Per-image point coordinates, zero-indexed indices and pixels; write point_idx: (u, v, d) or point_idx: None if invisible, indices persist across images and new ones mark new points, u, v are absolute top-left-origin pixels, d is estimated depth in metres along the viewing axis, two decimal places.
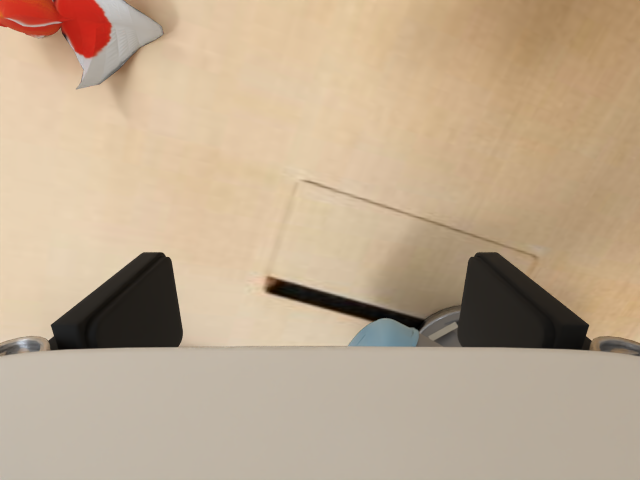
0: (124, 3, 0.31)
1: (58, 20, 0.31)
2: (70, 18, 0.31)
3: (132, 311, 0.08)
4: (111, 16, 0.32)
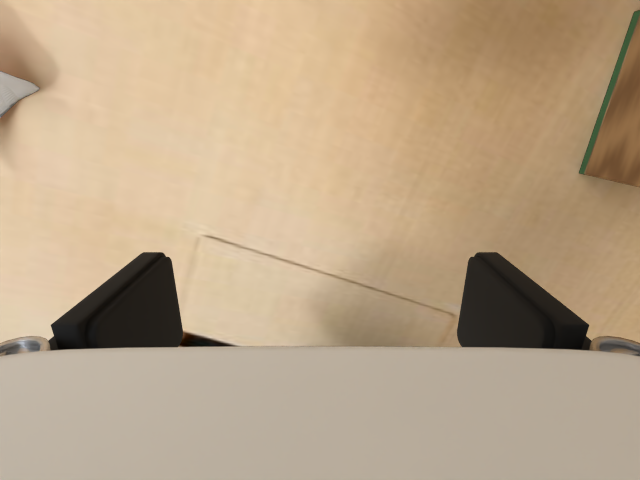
0: None
1: None
2: None
3: (132, 311, 0.08)
4: None
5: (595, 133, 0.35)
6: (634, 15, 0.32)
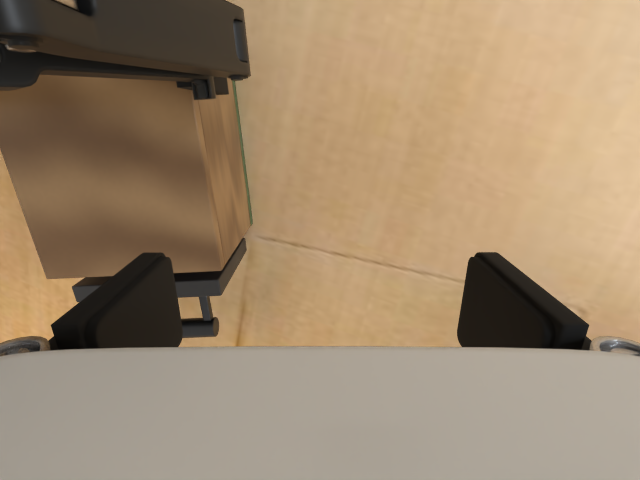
0: None
1: None
2: None
3: (132, 311, 0.08)
4: None
5: (234, 92, 0.27)
6: None
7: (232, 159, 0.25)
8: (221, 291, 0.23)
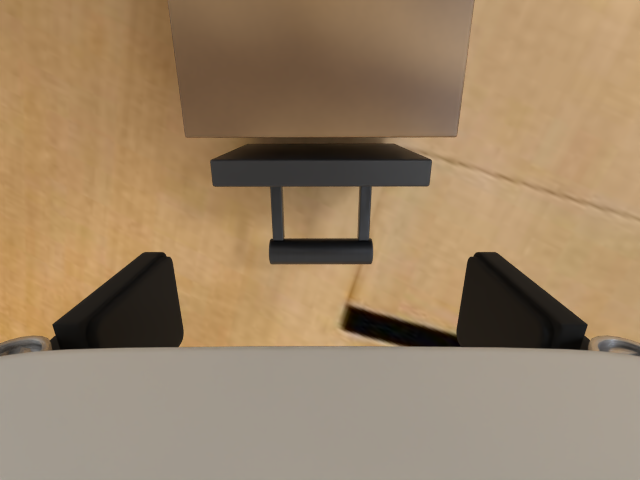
0: None
1: None
2: None
3: (133, 311, 0.08)
4: None
5: None
6: None
7: None
8: (428, 180, 0.16)
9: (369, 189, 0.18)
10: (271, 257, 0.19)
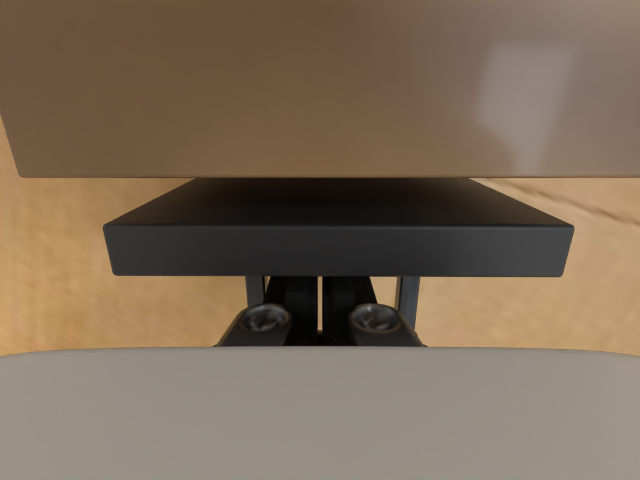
0: None
1: None
2: None
3: None
4: None
5: None
6: None
7: None
8: None
9: None
10: None
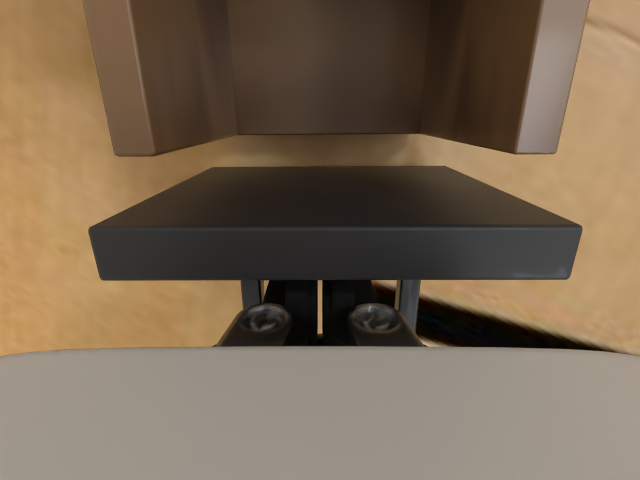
0: None
1: None
2: None
3: None
4: None
5: None
6: None
7: None
8: None
9: None
10: None
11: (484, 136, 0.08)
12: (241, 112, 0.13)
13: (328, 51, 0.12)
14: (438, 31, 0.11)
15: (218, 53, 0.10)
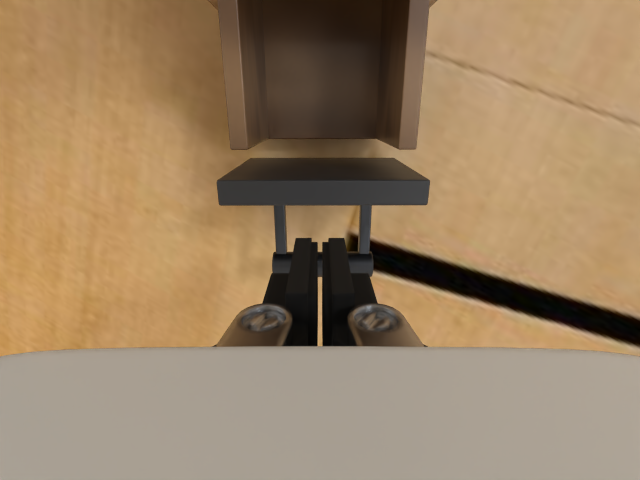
0: None
1: None
2: None
3: None
4: None
5: None
6: None
7: None
8: (427, 199, 0.16)
9: (369, 205, 0.19)
10: (274, 270, 0.20)
11: (392, 141, 0.17)
12: (271, 125, 0.22)
13: (322, 91, 0.21)
14: (381, 83, 0.20)
15: (262, 95, 0.19)
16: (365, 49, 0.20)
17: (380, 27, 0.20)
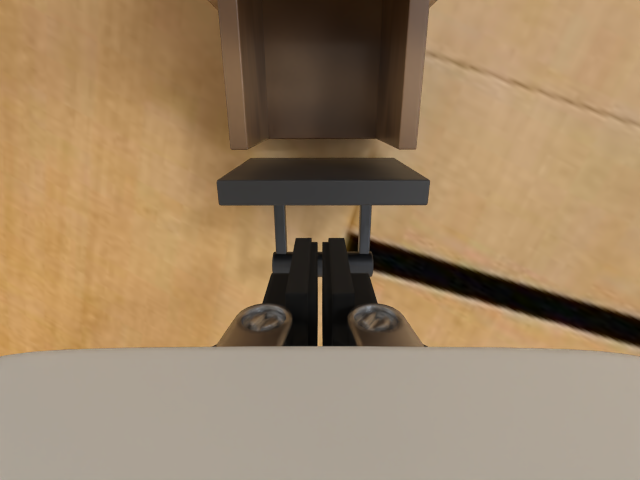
0: None
1: None
2: None
3: None
4: None
5: None
6: None
7: None
8: (427, 199, 0.16)
9: (369, 205, 0.19)
10: (274, 270, 0.20)
11: (392, 141, 0.17)
12: (271, 125, 0.22)
13: (322, 91, 0.21)
14: (381, 83, 0.20)
15: (262, 95, 0.19)
16: (365, 49, 0.20)
17: (380, 27, 0.20)
